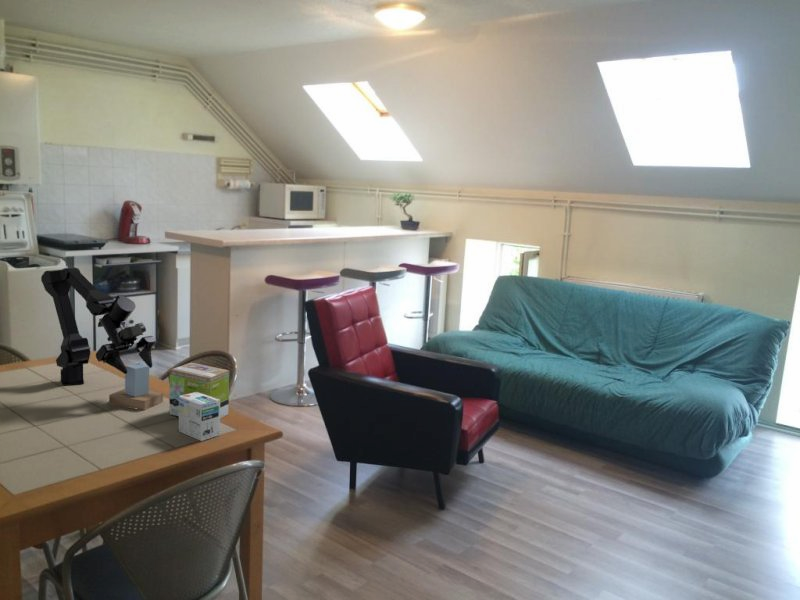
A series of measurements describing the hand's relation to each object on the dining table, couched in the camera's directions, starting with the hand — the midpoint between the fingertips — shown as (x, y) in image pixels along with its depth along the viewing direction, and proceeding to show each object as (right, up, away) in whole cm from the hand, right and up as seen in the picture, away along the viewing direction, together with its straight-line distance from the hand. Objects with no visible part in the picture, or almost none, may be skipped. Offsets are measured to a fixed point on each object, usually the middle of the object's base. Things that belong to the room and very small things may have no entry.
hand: (139, 370), depth 206 cm
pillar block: (-2, -8, +2) cm, 8 cm away
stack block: (-2, -11, +3) cm, 12 cm away
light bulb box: (+25, -16, -19) cm, 35 cm away
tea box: (+20, -14, -5) cm, 25 cm away
